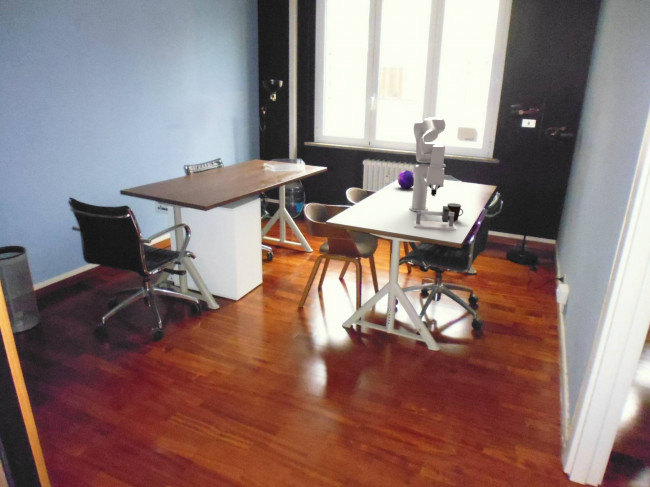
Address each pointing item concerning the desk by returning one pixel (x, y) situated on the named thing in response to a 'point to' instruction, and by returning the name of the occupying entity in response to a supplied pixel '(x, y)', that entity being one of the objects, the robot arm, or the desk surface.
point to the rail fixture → (434, 225)
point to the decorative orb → (406, 179)
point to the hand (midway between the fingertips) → (433, 195)
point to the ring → (445, 214)
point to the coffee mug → (455, 210)
